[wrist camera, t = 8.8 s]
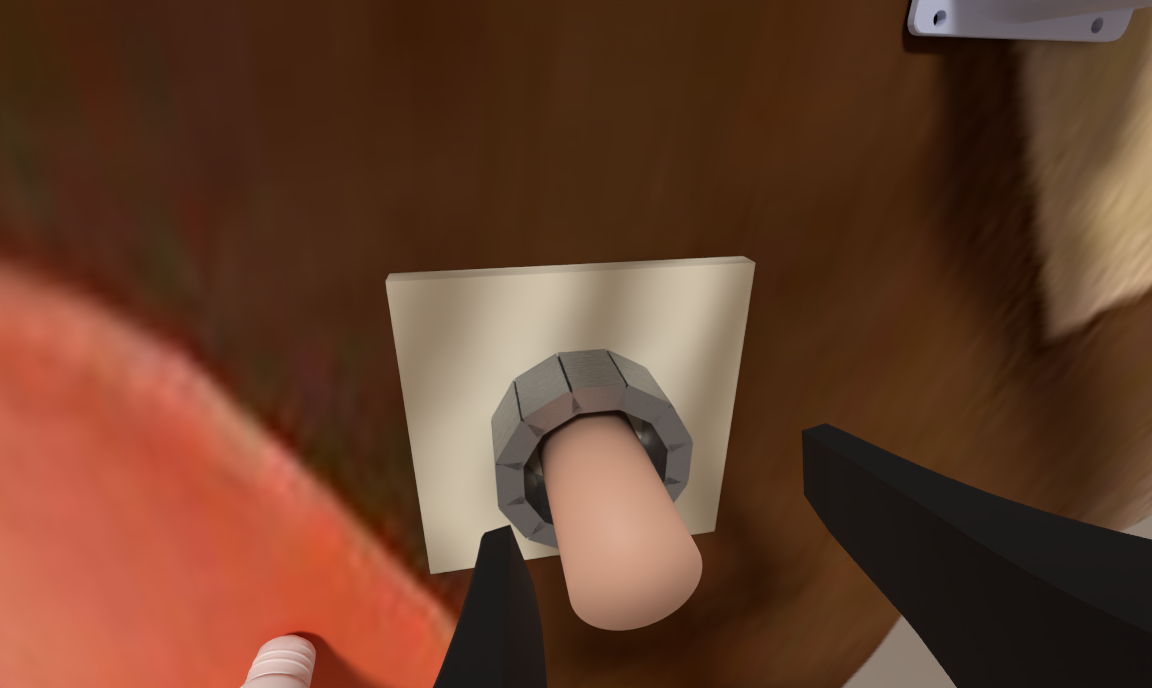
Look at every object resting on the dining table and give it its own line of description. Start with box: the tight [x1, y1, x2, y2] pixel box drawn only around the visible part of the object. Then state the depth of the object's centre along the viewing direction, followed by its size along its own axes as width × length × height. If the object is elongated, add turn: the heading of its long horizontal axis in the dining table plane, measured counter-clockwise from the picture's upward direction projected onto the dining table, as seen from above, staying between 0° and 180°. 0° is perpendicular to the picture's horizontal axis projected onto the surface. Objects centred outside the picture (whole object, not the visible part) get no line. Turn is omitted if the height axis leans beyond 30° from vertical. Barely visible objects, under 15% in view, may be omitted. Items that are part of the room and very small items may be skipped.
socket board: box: [386, 256, 755, 574], centre depth 21 cm, size 14×14×4 cm
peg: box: [537, 410, 702, 630], centre depth 18 cm, size 4×4×8 cm
